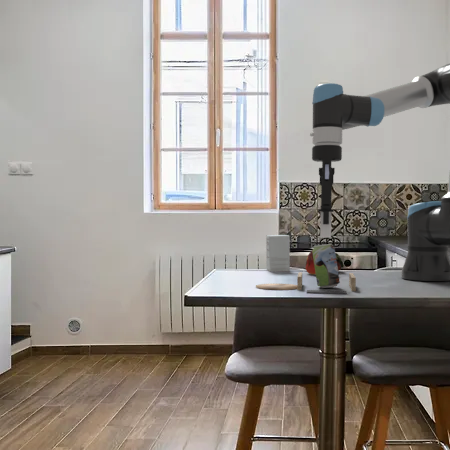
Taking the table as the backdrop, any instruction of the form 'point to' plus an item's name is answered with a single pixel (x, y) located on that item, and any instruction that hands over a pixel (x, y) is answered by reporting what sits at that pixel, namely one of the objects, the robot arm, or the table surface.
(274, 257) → the supplement box
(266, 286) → the coaster
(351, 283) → the channel
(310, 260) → the dark red rounded pieces
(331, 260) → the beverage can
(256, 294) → the table surface
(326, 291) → the pad
